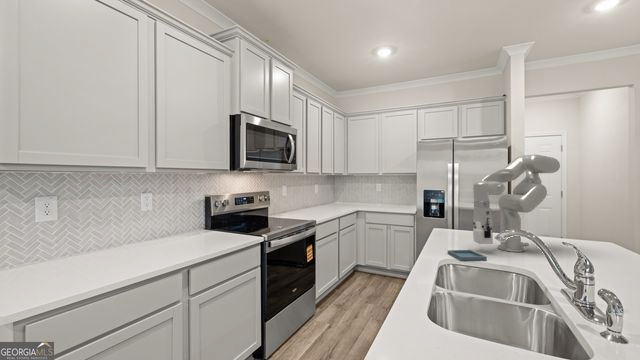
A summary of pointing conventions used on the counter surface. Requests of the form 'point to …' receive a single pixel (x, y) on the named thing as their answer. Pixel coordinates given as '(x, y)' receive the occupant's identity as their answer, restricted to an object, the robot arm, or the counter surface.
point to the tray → (467, 255)
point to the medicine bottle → (481, 235)
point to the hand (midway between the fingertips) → (482, 235)
